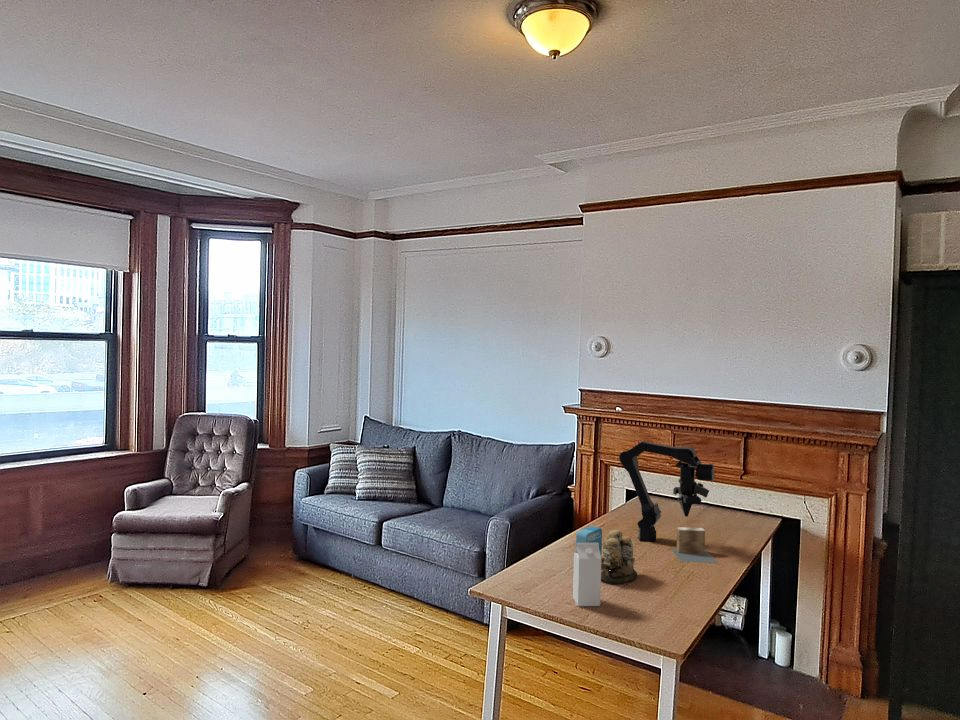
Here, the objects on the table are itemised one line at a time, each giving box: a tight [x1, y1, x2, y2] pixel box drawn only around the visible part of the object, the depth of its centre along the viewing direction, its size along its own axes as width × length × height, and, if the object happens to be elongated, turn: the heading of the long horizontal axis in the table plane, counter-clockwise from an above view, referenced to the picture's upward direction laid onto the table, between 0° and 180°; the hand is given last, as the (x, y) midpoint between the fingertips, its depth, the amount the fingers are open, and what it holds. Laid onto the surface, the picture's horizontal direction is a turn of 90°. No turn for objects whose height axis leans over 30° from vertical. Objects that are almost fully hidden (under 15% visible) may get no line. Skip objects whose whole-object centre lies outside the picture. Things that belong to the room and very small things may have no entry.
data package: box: [575, 525, 603, 556], centre depth 244 cm, size 12×4×12 cm, turn 140°
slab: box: [676, 526, 706, 554], centre depth 255 cm, size 10×4×9 cm, turn 88°
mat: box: [670, 548, 719, 564], centre depth 251 cm, size 14×15×1 cm
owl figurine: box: [601, 529, 638, 586], centre depth 227 cm, size 18×12×17 cm, turn 140°
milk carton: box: [572, 543, 602, 607], centre depth 204 cm, size 7×7×19 cm
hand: (686, 516), depth 263 cm, fingers closed
